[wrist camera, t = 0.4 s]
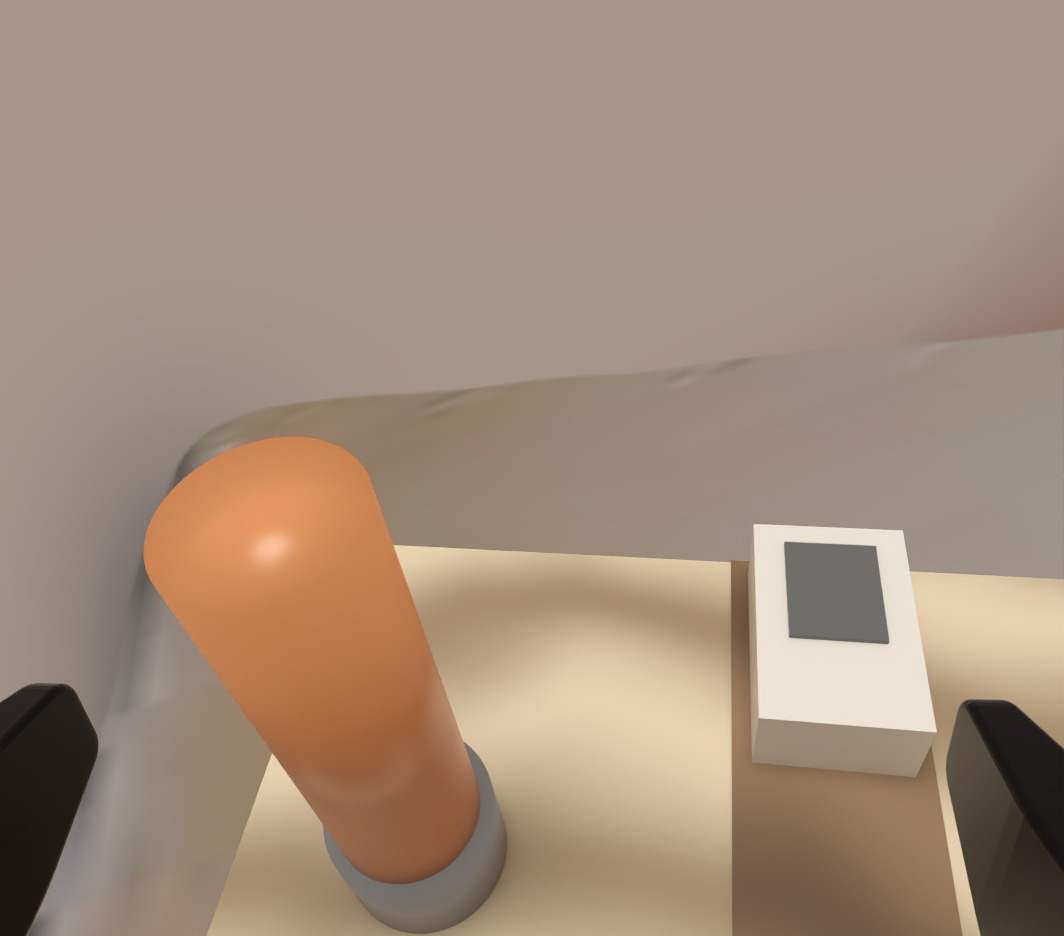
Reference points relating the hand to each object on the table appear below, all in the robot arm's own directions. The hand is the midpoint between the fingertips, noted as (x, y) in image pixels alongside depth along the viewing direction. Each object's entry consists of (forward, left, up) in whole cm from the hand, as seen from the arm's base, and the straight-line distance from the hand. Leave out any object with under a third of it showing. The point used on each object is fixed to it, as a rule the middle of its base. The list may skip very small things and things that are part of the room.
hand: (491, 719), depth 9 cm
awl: (+4, +4, -14) cm, 15 cm away
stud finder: (+10, -6, -14) cm, 18 cm away
